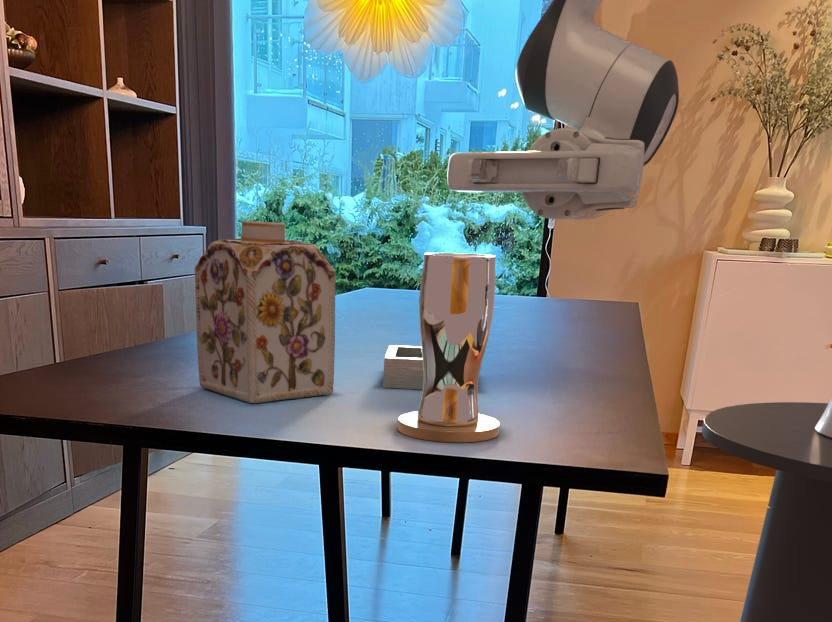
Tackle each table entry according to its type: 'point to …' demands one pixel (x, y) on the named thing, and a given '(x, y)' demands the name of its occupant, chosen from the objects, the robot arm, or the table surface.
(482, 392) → the table surface
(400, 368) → the box
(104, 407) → the table surface
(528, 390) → the table surface
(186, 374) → the table surface
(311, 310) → the decorative jar
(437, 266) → the beer glass
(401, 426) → the disc
